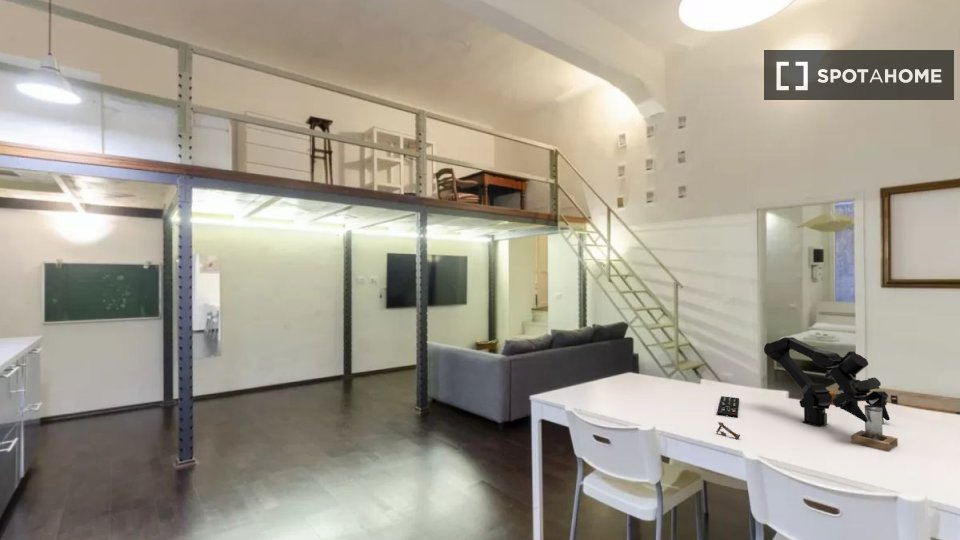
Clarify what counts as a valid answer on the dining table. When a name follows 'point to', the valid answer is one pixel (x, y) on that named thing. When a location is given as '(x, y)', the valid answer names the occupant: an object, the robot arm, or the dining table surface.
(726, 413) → the remote control
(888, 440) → the frame
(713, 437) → the dining table surface
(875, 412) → the metal canister
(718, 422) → the wooden post with brackets
